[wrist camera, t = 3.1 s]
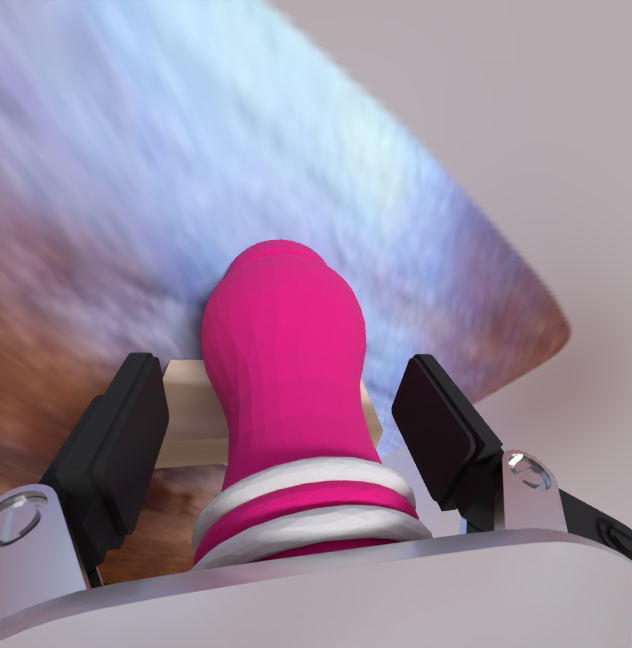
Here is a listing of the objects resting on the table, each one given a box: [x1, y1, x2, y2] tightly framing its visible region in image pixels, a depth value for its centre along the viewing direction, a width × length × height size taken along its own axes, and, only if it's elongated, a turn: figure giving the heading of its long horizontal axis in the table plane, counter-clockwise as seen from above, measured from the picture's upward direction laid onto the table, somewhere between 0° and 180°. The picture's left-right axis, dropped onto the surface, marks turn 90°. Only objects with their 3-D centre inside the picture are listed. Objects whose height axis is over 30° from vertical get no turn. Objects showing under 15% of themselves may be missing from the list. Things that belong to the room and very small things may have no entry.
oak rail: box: [154, 360, 383, 468], centre depth 17 cm, size 2×12×6 cm, turn 82°
